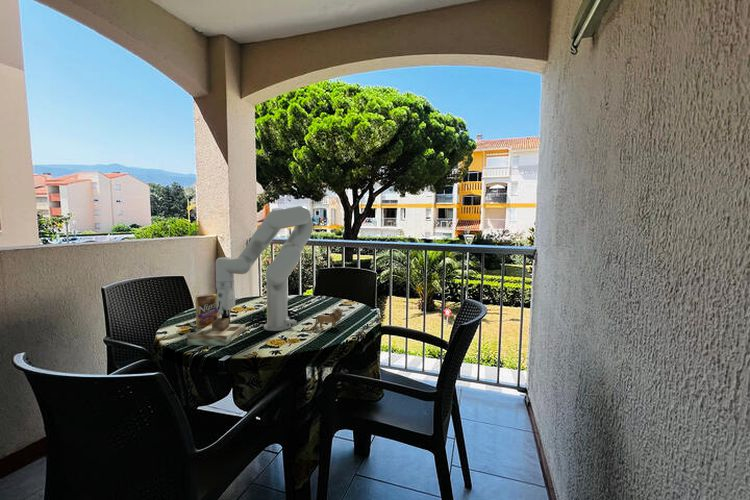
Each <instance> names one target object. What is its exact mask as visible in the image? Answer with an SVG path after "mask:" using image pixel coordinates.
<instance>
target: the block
mask: <svg viewBox="0 0 750 500" xmlns="http://www.w3.org/2000/svg"><path fill="white" fill-rule="evenodd" d="M229 324H230V323H229V318H222V317H220V318H218V319H216V320H214V321H213V322H212V331H224V330H226V329H227V328H228V327H229Z"/></svg>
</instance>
